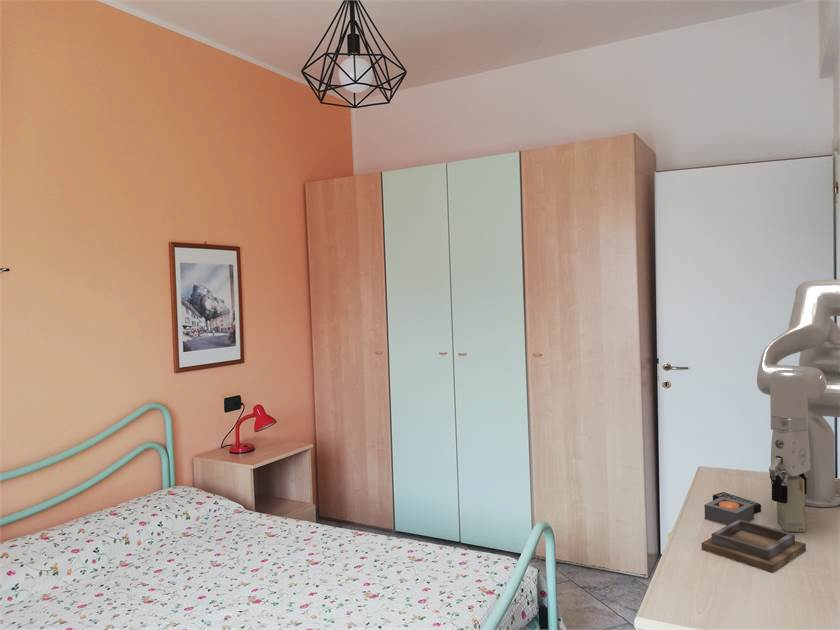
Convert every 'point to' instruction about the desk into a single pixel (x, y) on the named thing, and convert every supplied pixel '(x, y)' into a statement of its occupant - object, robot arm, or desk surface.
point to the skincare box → (793, 506)
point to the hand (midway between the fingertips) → (789, 497)
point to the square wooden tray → (754, 545)
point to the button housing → (728, 511)
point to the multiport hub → (756, 505)
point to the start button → (729, 505)
